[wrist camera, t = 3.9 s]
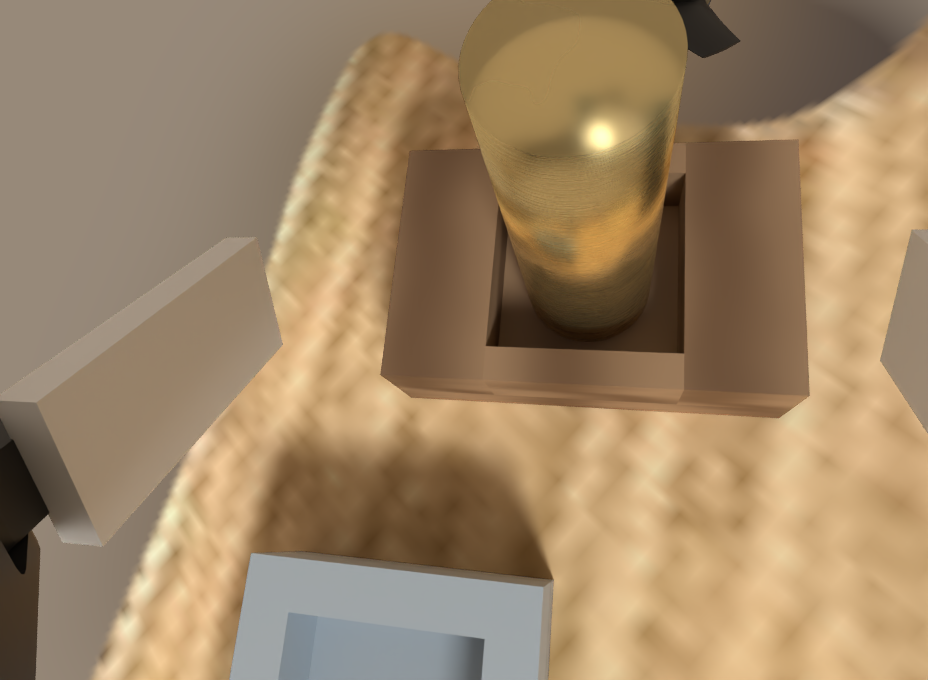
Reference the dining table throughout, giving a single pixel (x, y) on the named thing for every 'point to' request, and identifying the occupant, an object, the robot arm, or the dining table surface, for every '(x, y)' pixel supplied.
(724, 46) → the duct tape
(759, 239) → the brown wooden holder
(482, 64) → the axle
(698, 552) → the dining table surface
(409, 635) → the blue-grey square socket
